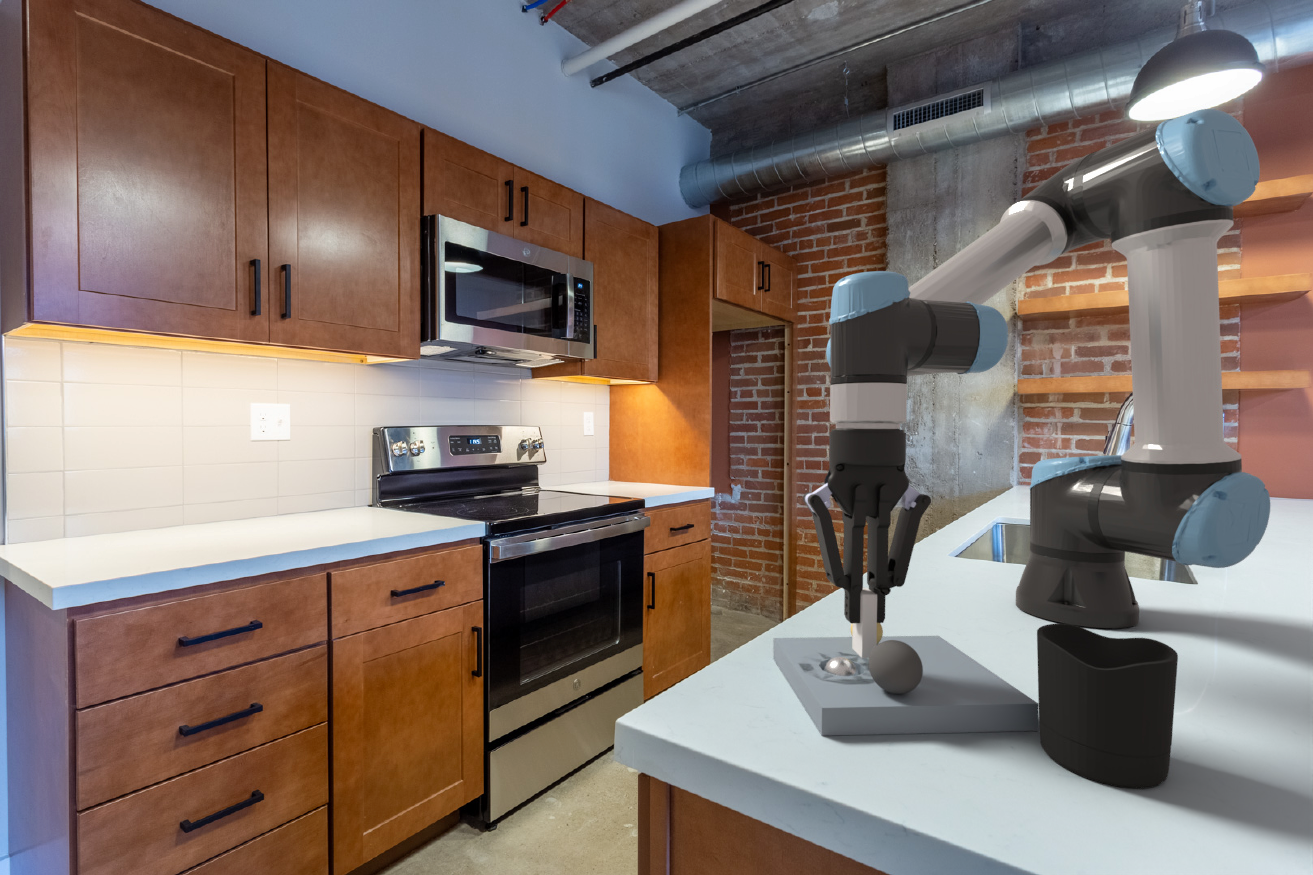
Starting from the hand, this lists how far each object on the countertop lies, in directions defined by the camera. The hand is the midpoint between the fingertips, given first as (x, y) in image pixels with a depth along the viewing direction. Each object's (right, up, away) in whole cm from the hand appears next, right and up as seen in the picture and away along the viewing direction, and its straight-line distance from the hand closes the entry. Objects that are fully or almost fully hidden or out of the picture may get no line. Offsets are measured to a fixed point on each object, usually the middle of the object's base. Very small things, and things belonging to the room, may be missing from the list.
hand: (864, 652), depth 65 cm
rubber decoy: (+1, +1, -6) cm, 6 cm away
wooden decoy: (+2, 0, +6) cm, 7 cm away
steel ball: (-2, -2, 0) cm, 3 cm away
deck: (+3, -4, 0) cm, 5 cm away
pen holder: (+15, -5, -13) cm, 21 cm away
